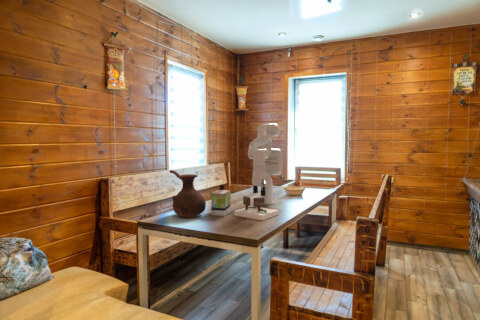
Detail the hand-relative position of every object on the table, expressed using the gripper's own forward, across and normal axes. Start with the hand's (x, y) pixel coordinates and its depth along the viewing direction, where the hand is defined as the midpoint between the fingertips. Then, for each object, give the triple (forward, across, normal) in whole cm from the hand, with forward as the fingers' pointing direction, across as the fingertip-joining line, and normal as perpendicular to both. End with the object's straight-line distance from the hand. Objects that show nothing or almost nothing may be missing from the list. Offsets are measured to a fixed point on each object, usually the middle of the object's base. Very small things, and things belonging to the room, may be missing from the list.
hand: (259, 194), depth 205 cm
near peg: (+10, +4, 0) cm, 11 cm away
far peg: (+10, -6, -3) cm, 12 cm away
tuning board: (+14, -1, -2) cm, 14 cm away
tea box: (+14, -16, -20) cm, 29 cm away
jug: (+14, -20, -41) cm, 48 cm away
